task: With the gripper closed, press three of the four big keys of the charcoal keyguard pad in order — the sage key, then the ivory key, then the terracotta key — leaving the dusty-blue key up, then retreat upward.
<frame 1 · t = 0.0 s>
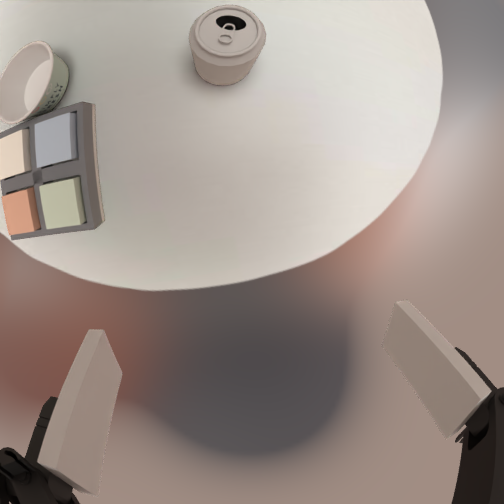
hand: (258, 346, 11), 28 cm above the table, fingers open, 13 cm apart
keypad: (51, 172, 30), on the table
key 4: (14, 154, 24), point 4 cm above the table, slide at 0.0 cm
can: (223, 62, 29), on the table
key 3: (56, 140, 25), point 4 cm above the table, slide at 0.0 cm
key 2: (21, 211, 28), point 4 cm above the table, slide at 0.0 cm
food container: (46, 86, 25), on the table
key 1: (63, 202, 29), point 4 cm above the table, slide at 0.0 cm
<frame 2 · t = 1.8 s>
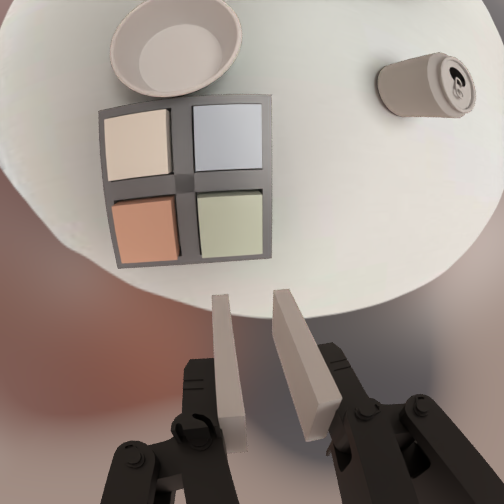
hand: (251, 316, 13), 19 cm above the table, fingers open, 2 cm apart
keypad: (188, 178, 28), on the table
key 4: (138, 144, 22), point 4 cm above the table, slide at 0.0 cm
can: (395, 91, 27), on the table
key 3: (227, 136, 23), point 4 cm above the table, slide at 0.0 cm
key 2: (146, 229, 26), point 4 cm above the table, slide at 0.0 cm
food container: (180, 59, 23), on the table
key 1: (230, 223, 27), point 4 cm above the table, slide at 0.0 cm
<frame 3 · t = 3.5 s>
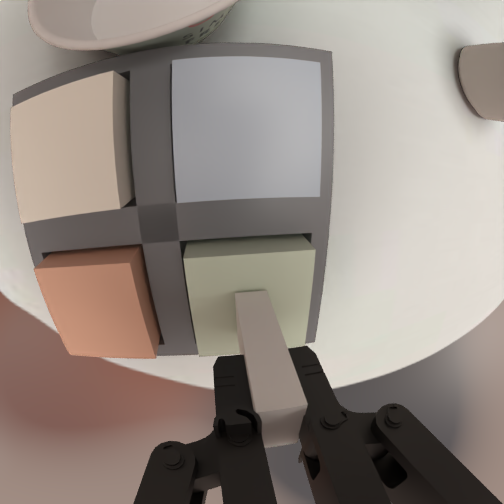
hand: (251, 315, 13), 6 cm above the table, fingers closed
keypad: (170, 204, 16), on the table
key 4: (68, 149, 10), point 4 cm above the table, slide at 0.0 cm
can: (473, 82, 14), on the table
key 3: (245, 126, 11), point 4 cm above the table, slide at 0.0 cm
key 2: (99, 304, 13), point 4 cm above the table, slide at 0.0 cm
food container: (160, 2, 10), on the table
key 1: (249, 296, 14), point 4 cm above the table, slide at -0.1 cm, touching gripper
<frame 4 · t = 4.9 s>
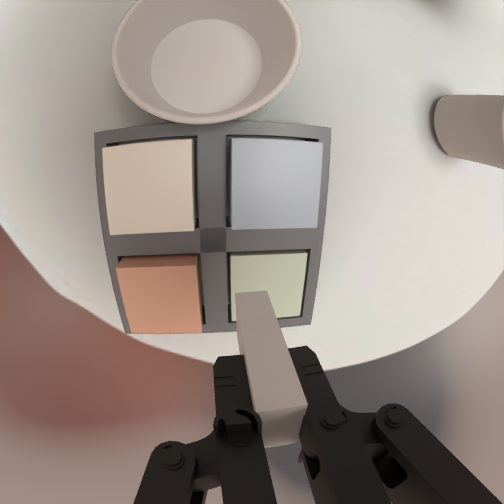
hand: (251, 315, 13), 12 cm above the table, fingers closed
keypad: (212, 224, 23), on the table
key 4: (150, 185, 17), point 4 cm above the table, slide at 0.0 cm
can: (447, 125, 23), on the table
key 3: (273, 182, 18), point 4 cm above the table, slide at 0.0 cm
key 2: (162, 294, 20), point 4 cm above the table, slide at 0.0 cm
food container: (206, 65, 18), on the table
key 1: (265, 281, 23), point 3 cm above the table, slide at -1.4 cm
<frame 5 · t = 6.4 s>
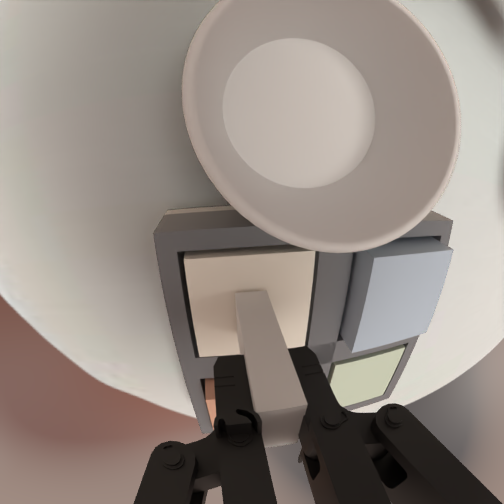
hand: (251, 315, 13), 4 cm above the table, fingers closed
keypad: (302, 317, 19), on the table
key 4: (249, 296, 14), point 3 cm above the table, slide at -1.3 cm, touching gripper
key 3: (395, 291, 14), point 4 cm above the table, slide at 0.0 cm
key 2: (253, 405, 17), point 4 cm above the table, slide at 0.0 cm
food container: (302, 110, 14), on the table
key 1: (356, 372, 19), point 3 cm above the table, slide at -1.4 cm
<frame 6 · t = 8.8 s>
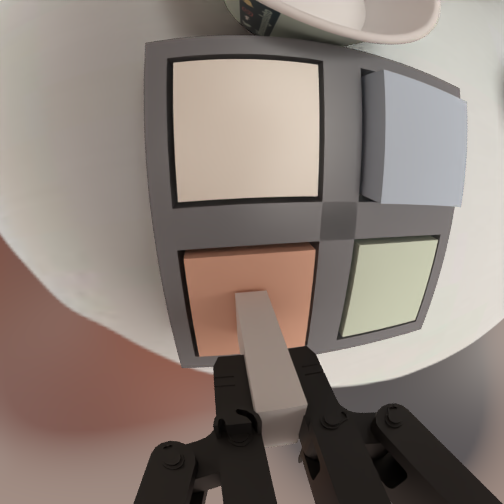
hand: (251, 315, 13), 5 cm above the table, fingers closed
keypad: (311, 201, 16), on the table
key 4: (245, 127, 11), point 3 cm above the table, slide at -1.4 cm
key 3: (416, 142, 11), point 4 cm above the table, slide at 0.0 cm
key 2: (249, 296, 14), point 3 cm above the table, slide at -1.2 cm, touching gripper
key 1: (383, 279, 16), point 3 cm above the table, slide at -1.4 cm
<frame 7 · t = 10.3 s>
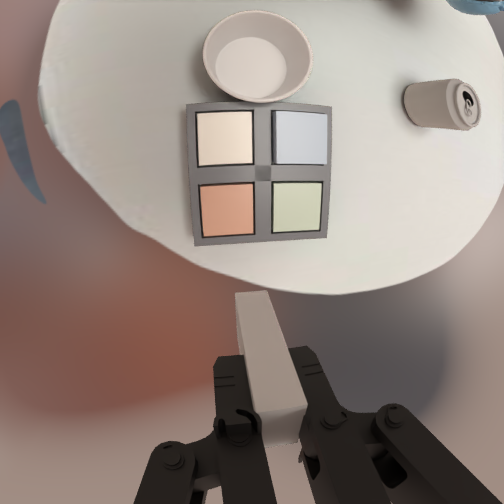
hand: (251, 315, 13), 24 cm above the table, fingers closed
keypad: (257, 169, 34), on the table
key 4: (224, 138, 29), point 3 cm above the table, slide at -1.4 cm
can: (416, 105, 33), on the table
key 3: (299, 137, 29), point 4 cm above the table, slide at 0.0 cm
key 2: (227, 208, 33), point 3 cm above the table, slide at -1.4 cm
food container: (251, 67, 29), on the table
key 1: (294, 205, 34), point 3 cm above the table, slide at -1.4 cm
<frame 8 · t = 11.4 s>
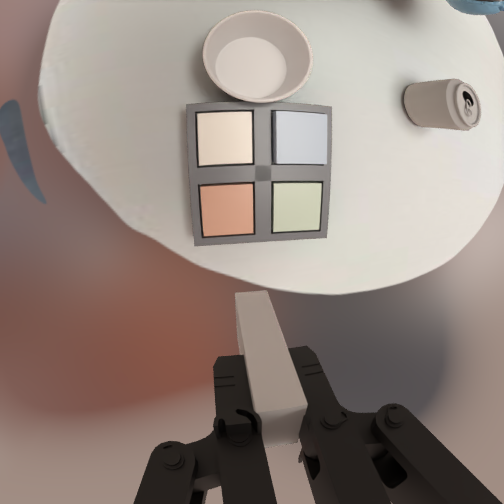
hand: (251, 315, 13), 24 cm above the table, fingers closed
keypad: (257, 169, 34), on the table
key 4: (224, 138, 29), point 3 cm above the table, slide at -1.4 cm
can: (416, 105, 33), on the table
key 3: (299, 137, 29), point 4 cm above the table, slide at 0.0 cm
key 2: (227, 207, 33), point 3 cm above the table, slide at -1.4 cm
food container: (251, 67, 29), on the table
key 1: (294, 205, 34), point 3 cm above the table, slide at -1.4 cm
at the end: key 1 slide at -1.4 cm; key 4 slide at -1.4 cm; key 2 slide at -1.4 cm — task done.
